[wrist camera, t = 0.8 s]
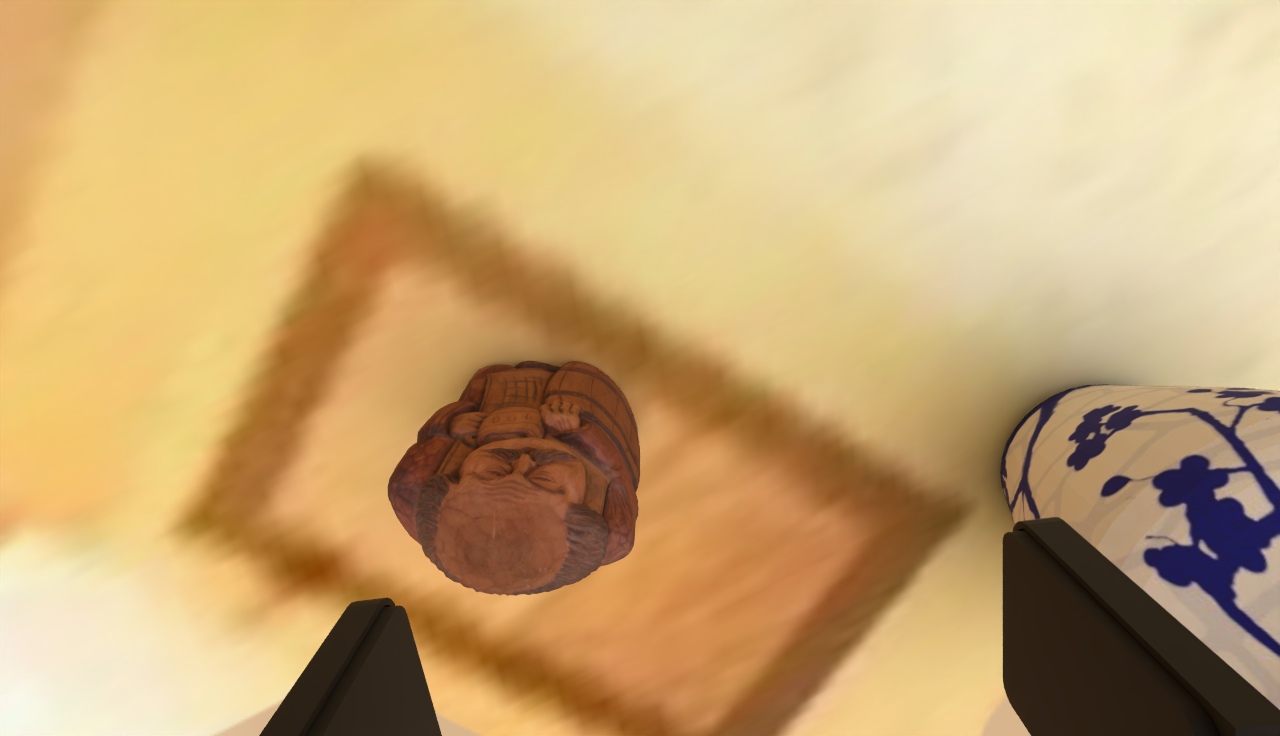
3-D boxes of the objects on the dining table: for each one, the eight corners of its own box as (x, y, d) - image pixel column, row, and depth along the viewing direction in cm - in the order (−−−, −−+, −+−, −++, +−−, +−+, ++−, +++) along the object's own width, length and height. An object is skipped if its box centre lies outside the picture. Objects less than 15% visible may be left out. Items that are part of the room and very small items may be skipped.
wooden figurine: (644, 362, 44) (638, 489, 27) (640, 453, 46) (633, 627, 29) (461, 354, 45) (339, 477, 27) (464, 446, 46) (353, 615, 29)
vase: (967, 313, 43) (1592, 619, 14) (1272, 331, 43) (2506, 672, 14) (916, 578, 49) (1296, 1181, 20) (1186, 593, 49) (1956, 1220, 20)
